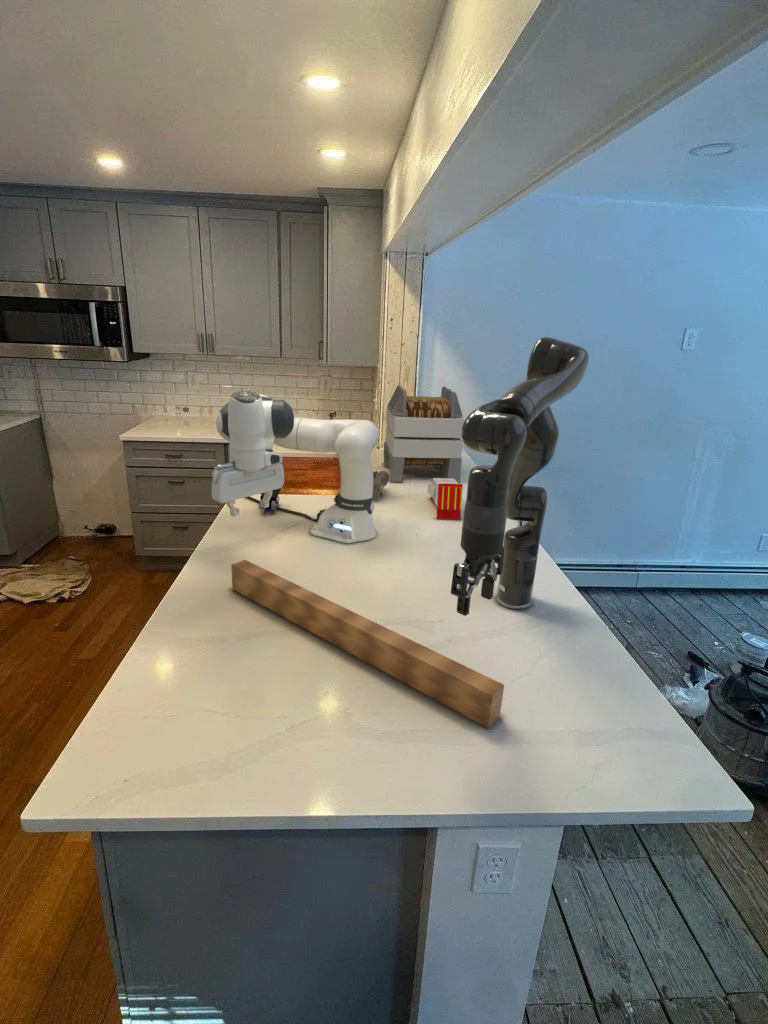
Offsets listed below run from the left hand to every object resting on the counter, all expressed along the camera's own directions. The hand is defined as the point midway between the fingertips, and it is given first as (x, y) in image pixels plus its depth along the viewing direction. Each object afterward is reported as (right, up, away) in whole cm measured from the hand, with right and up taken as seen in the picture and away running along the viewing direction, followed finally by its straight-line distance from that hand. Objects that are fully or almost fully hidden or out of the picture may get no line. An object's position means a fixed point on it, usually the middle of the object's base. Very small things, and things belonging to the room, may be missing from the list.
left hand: (250, 511), depth 146 cm
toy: (+58, +2, +83) cm, 102 cm away
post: (+25, -31, -12) cm, 41 cm away
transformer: (+52, +19, +129) cm, 141 cm away
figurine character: (-9, +1, +72) cm, 72 cm away
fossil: (+30, +7, +94) cm, 99 cm away
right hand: (+51, -18, -40) cm, 67 cm away
